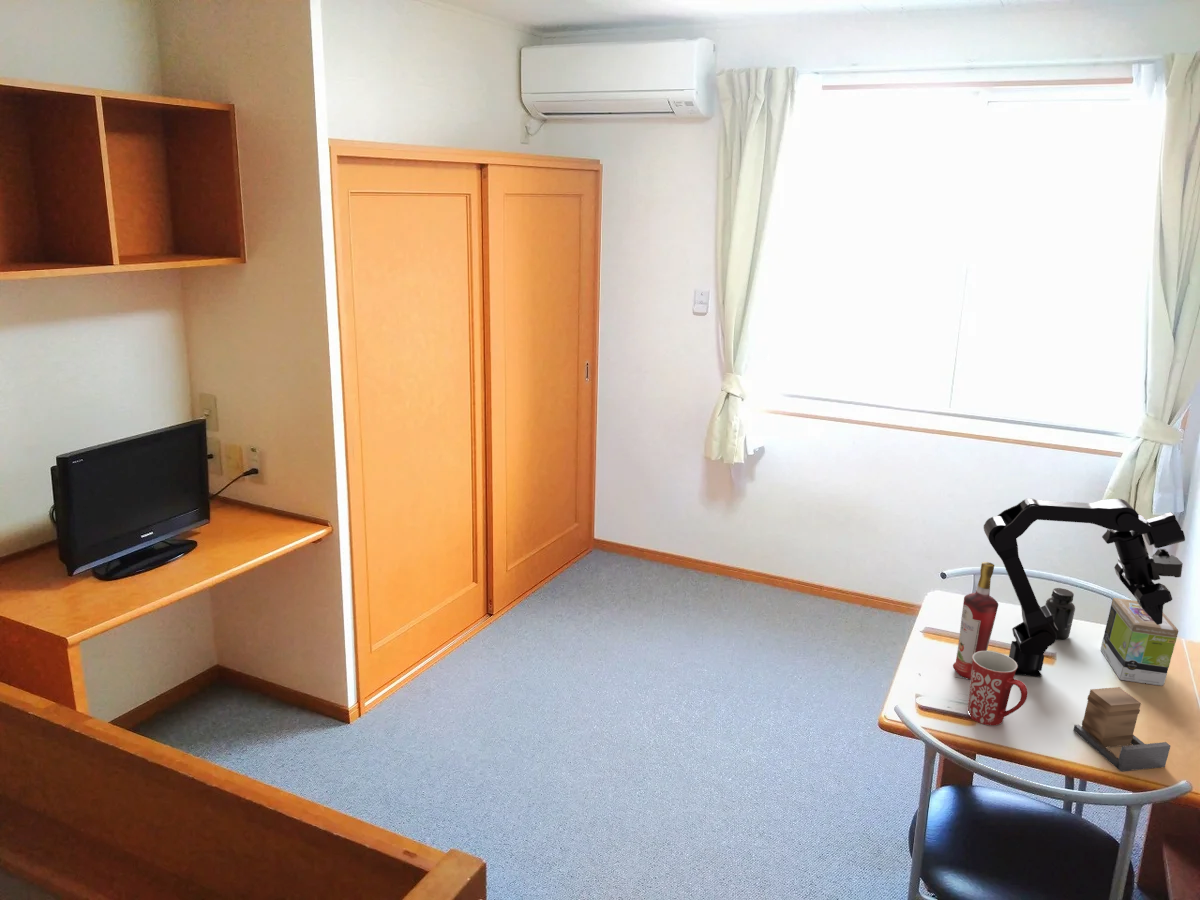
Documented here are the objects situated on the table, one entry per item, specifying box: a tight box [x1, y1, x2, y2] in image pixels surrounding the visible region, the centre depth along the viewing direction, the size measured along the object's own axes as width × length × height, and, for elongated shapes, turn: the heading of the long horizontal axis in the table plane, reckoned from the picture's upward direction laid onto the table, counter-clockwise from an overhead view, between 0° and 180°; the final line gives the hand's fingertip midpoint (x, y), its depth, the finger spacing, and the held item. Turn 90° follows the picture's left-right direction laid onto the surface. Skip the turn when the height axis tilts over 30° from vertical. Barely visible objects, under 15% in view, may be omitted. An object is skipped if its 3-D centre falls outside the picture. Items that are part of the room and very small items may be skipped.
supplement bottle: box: [1044, 587, 1076, 641], centre depth 232 cm, size 7×7×12 cm
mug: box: [967, 650, 1028, 727], centre depth 193 cm, size 13×9×14 cm
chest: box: [1081, 686, 1142, 748], centre depth 189 cm, size 6×7×10 cm
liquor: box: [952, 561, 999, 680], centre depth 209 cm, size 7×7×28 cm
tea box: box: [1100, 597, 1179, 686], centre depth 217 cm, size 15×10×15 cm, turn 168°
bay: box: [1073, 724, 1171, 772], centre depth 187 cm, size 14×10×5 cm
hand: (1152, 614), depth 206 cm, fingers open, 9 cm apart
